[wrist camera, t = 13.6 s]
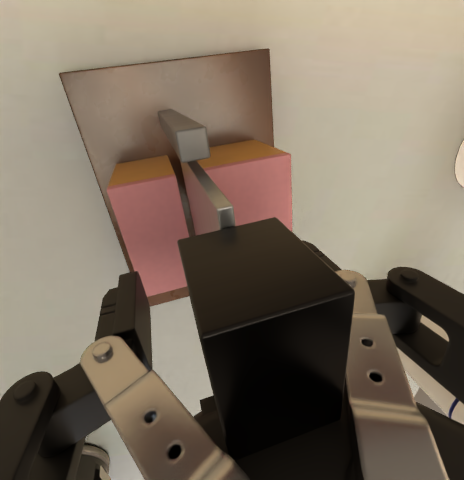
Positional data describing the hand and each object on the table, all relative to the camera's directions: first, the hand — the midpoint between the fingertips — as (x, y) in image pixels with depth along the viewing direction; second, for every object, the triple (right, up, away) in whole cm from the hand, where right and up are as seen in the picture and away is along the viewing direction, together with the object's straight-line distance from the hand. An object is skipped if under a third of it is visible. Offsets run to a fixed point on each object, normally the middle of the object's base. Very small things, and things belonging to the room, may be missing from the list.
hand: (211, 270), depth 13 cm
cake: (-2, +5, +9) cm, 10 cm away
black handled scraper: (-1, +1, +3) cm, 3 cm away
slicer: (-2, +5, +10) cm, 12 cm away
